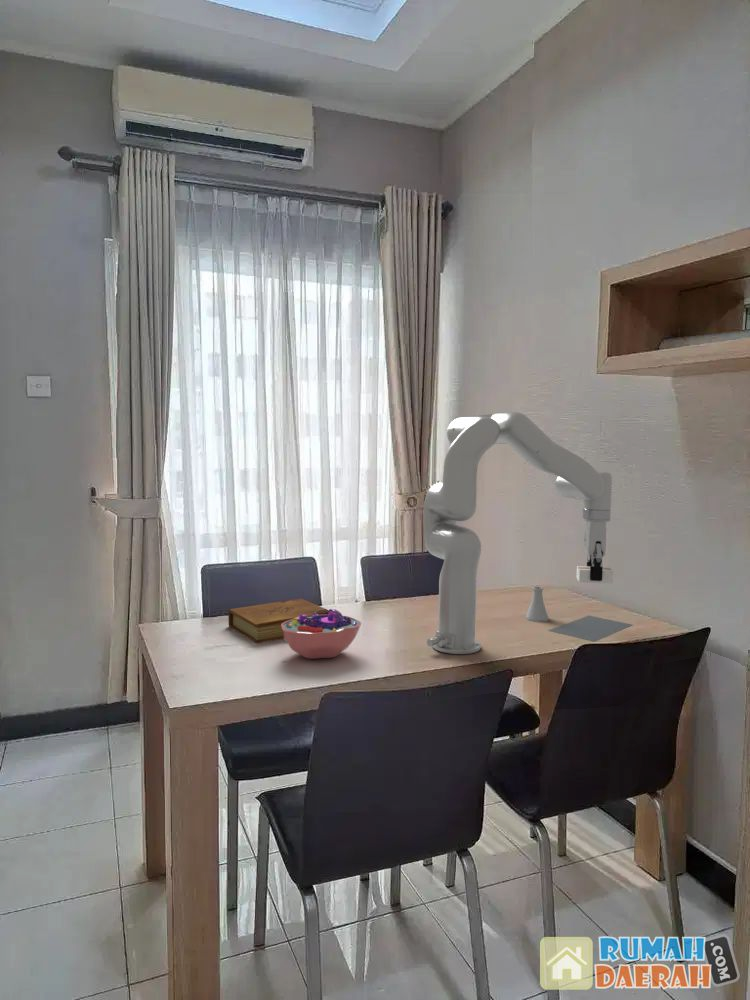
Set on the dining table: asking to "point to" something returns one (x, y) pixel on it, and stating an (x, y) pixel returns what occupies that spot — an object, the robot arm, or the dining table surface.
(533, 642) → the dining table surface
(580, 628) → the mat
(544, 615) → the flask
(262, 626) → the diary
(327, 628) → the cell model
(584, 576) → the card deck
